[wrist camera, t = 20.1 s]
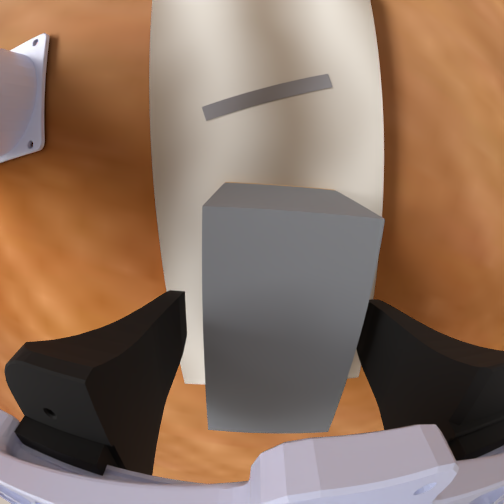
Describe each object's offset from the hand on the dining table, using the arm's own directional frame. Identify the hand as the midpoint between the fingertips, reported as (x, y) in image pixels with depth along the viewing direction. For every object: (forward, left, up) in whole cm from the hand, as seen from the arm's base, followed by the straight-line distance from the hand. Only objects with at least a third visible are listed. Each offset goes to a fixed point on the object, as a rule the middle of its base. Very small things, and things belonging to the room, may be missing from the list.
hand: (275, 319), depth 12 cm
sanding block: (0, 0, -4) cm, 4 cm away
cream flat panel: (0, +5, -5) cm, 7 cm away
